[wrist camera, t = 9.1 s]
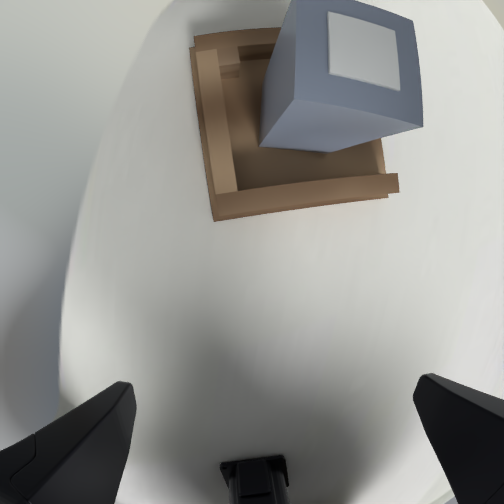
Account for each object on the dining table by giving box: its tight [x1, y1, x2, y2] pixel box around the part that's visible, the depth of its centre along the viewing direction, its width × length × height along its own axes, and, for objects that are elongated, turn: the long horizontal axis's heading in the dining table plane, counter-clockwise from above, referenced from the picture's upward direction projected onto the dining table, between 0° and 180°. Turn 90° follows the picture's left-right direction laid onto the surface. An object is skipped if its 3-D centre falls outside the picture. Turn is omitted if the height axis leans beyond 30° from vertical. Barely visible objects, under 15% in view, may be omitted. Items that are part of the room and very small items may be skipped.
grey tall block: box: [259, 0, 423, 154], centre depth 12 cm, size 4×4×11 cm
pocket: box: [189, 28, 399, 222], centre depth 16 cm, size 12×12×3 cm
